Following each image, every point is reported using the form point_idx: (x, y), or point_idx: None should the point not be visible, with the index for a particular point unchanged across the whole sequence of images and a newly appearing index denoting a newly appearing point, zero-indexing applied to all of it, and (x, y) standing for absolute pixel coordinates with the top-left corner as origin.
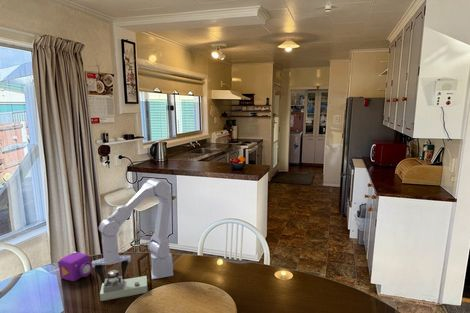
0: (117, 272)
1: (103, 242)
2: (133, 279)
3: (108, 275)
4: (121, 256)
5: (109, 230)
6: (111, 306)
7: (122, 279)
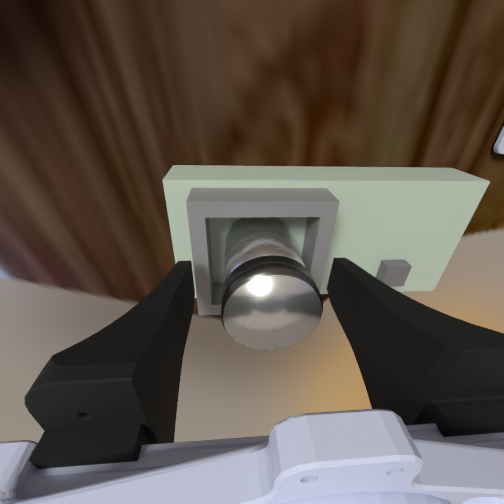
0: (313, 325)
1: None
2: (390, 203)
3: (232, 335)
4: (502, 478)
5: None
6: None
7: (327, 288)
